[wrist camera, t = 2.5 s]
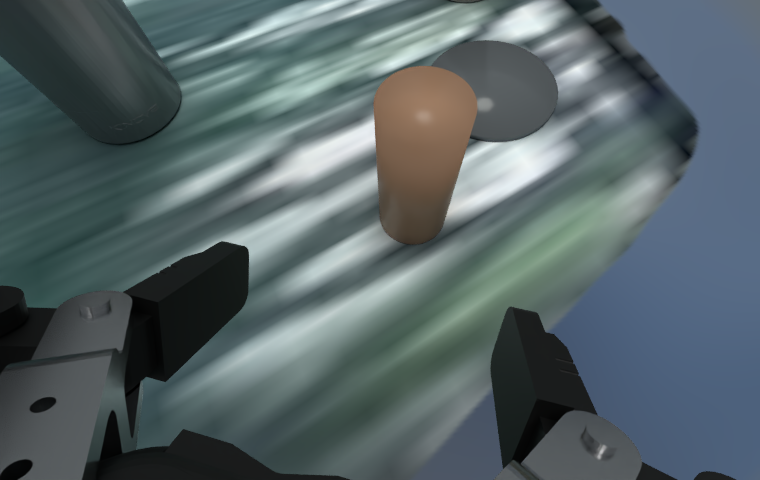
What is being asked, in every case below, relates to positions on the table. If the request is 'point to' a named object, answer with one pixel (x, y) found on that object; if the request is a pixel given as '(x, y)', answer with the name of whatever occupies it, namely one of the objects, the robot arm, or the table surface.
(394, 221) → the tan tapered cylinder
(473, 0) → the thermos bottle
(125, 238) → the table surface
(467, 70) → the coaster
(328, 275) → the table surface
